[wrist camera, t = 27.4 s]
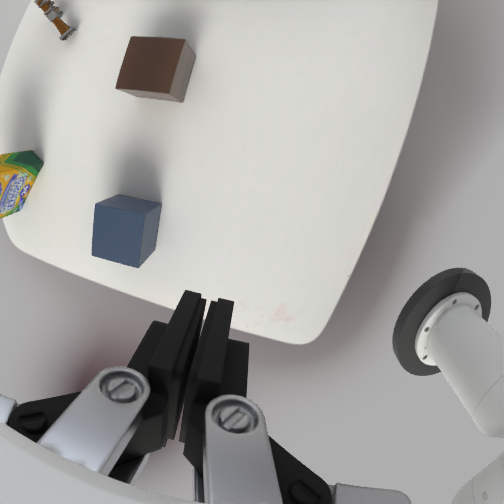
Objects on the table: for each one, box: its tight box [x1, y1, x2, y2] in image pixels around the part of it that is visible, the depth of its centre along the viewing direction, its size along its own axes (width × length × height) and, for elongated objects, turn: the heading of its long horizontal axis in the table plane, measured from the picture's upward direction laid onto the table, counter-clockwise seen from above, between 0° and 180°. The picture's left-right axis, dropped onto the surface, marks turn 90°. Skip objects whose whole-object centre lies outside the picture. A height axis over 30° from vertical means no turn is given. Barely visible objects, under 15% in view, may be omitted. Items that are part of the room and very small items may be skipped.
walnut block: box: [115, 36, 196, 102], centre depth 22 cm, size 5×5×5 cm
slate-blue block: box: [92, 195, 162, 268], centre depth 27 cm, size 5×5×5 cm
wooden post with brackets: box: [34, 0, 77, 40], centre depth 19 cm, size 2×8×4 cm, turn 33°
